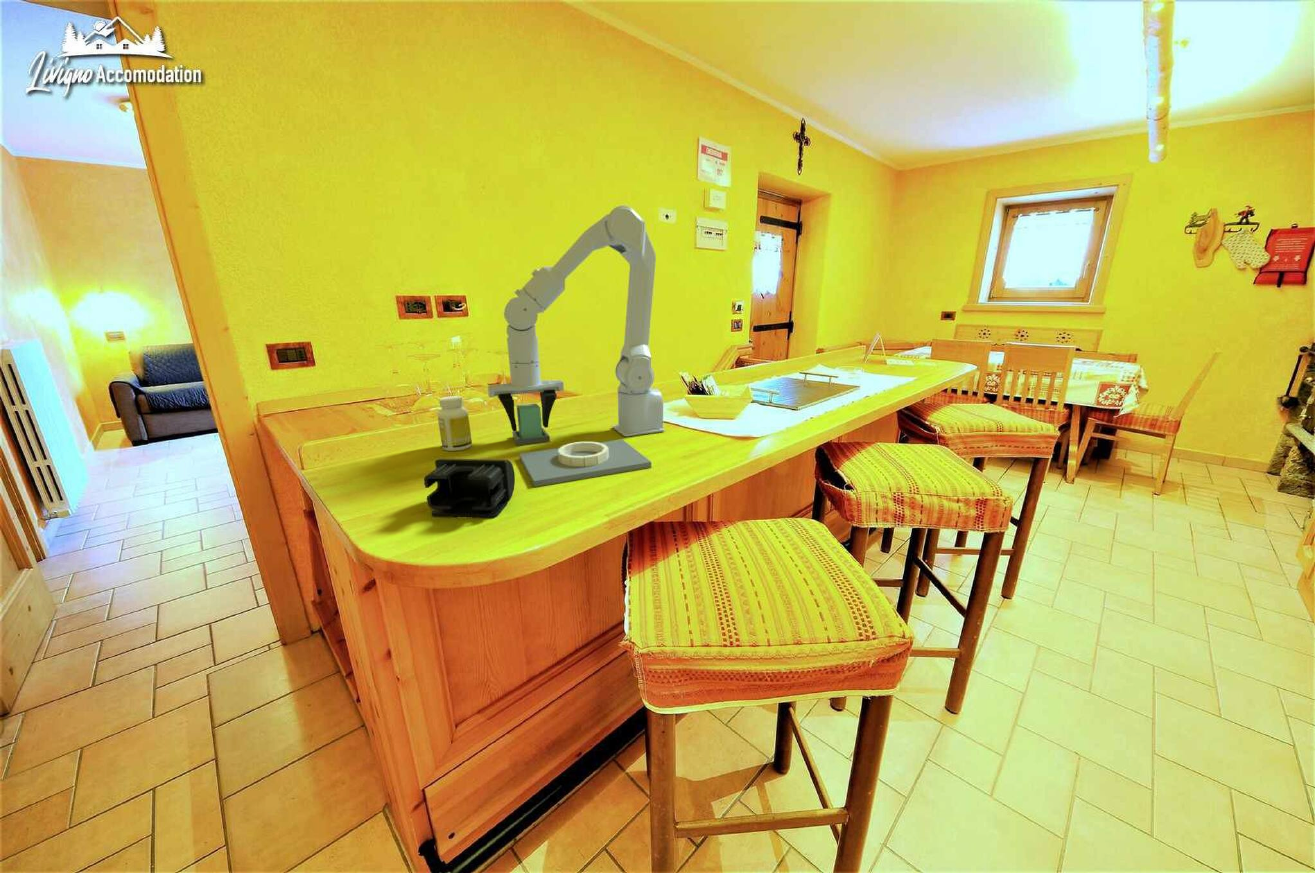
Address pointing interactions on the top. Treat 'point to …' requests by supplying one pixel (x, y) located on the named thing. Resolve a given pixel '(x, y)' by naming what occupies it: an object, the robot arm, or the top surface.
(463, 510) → the end cap
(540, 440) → the dark grey square frame
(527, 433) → the plug
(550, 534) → the top surface
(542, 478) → the socket board
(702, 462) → the top surface
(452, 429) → the supplement bottle
